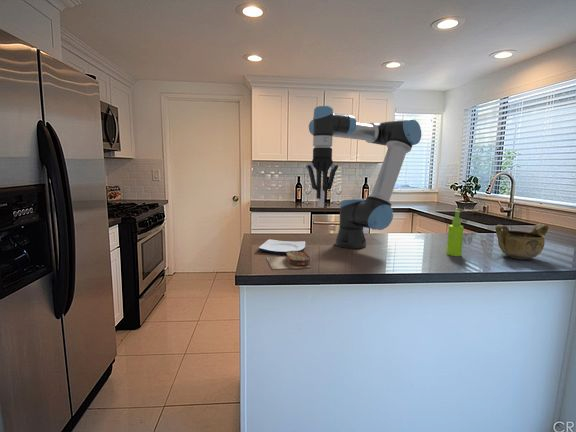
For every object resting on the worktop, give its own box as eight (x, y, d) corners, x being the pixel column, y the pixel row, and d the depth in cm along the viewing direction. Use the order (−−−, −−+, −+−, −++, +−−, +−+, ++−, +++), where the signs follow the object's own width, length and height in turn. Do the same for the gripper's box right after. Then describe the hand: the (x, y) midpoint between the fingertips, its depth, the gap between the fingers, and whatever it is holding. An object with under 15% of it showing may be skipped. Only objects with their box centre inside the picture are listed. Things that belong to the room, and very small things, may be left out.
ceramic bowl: (527, 252, 157) (530, 221, 155) (559, 263, 140) (564, 227, 138) (482, 253, 155) (485, 221, 153) (509, 263, 138) (513, 227, 136)
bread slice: (312, 260, 129) (291, 259, 127) (311, 267, 129) (290, 267, 128) (304, 250, 144) (284, 249, 142) (303, 257, 144) (284, 256, 142)
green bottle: (460, 253, 154) (464, 210, 151) (461, 256, 148) (465, 212, 145) (446, 251, 156) (450, 209, 153) (446, 255, 150) (450, 211, 147)
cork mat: (300, 256, 144) (300, 256, 144) (310, 267, 129) (310, 267, 129) (266, 258, 141) (266, 257, 141) (272, 269, 125) (272, 268, 125)
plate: (300, 257, 145) (301, 251, 144) (255, 254, 149) (255, 248, 148) (307, 246, 165) (307, 241, 164) (267, 243, 168) (267, 238, 168)
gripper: (309, 146, 126) (308, 208, 130) (341, 147, 129) (339, 207, 133) (304, 147, 134) (303, 206, 137) (334, 148, 137) (333, 205, 140)
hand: (321, 206), depth 135 cm, fingers closed
